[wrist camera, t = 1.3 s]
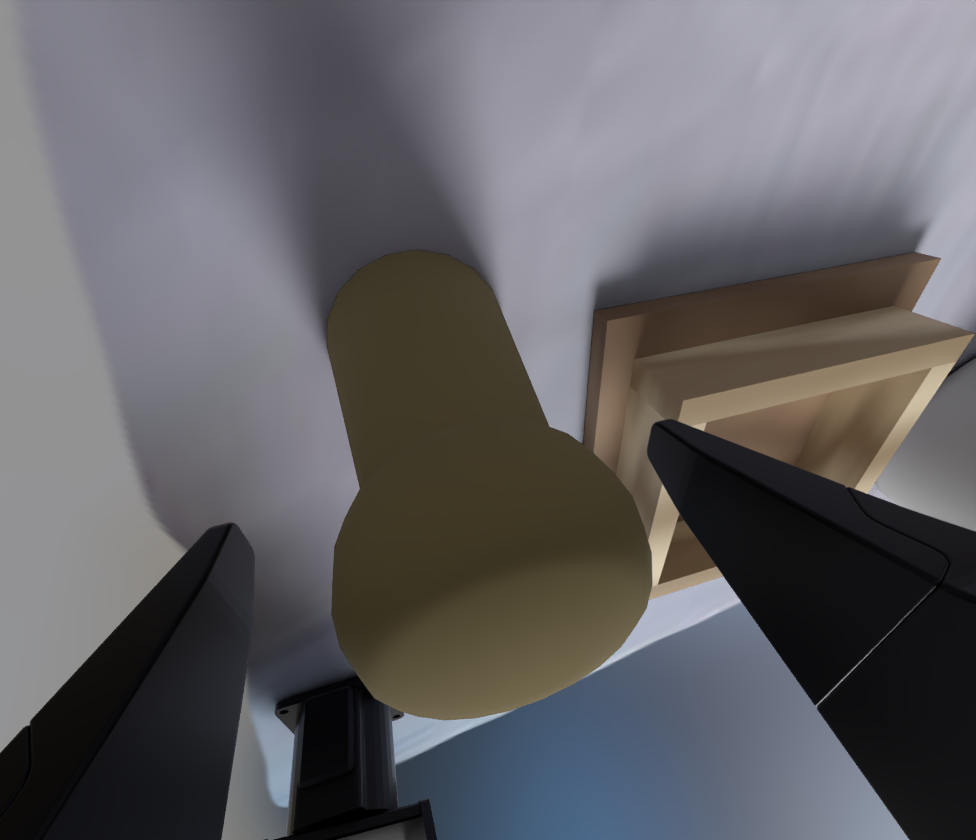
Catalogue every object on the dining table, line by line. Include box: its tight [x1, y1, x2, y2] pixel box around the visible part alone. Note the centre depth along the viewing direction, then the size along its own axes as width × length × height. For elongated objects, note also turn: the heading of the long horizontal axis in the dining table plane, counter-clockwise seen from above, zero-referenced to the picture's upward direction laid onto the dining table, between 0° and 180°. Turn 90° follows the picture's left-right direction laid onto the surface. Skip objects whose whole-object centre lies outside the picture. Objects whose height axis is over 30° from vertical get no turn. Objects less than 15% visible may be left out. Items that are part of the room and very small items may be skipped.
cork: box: [327, 250, 653, 720], centre depth 10 cm, size 6×6×11 cm
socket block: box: [583, 252, 975, 600], centre depth 20 cm, size 16×15×4 cm
